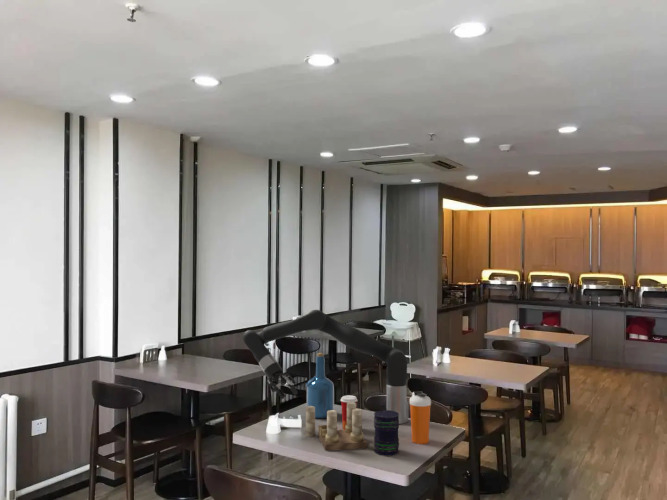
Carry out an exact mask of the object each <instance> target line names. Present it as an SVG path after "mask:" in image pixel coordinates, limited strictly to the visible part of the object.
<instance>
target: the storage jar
mask: <svg viewBox="0 0 667 500" xmlns="http://www.w3.org/2000/svg"><path fill="white" fill-rule="evenodd" d="M380 406H384V404H383V403H380ZM373 415H374V417H373V427H374V437H373V441H374V442H373V446H374V450H373V451H374V454H376V455H378V456H382V457H383V456H385V457H393V456H396V455H398V454H399V452H400V451H399V448H400V447H399V446H400V438H399V428H400V424H399V413H397V412H395V411H390V410H387V409H385V410H384V409H383V410H377V411H375V412H374V413H373Z"/></svg>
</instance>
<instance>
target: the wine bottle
mask: <svg viewBox="0 0 667 500" xmlns="http://www.w3.org/2000/svg"><path fill="white" fill-rule="evenodd" d="M315 359H316V360H315V365H316V366H315V375H314V376H313V377H312V378H310V379H308V381H307V382H306V384H305V386H306V407H307V406H314V407H315V419H327V411H329V410H335V386H334V385H335V384H334V382H333V381H332V380H330V379H329V378H327V376H326V372H325V368H326V367H325V363H326V361H325V360H326V359H325V356H324V353H322V352H318V353H317V355H316V357H315Z"/></svg>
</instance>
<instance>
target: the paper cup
mask: <svg viewBox="0 0 667 500" xmlns="http://www.w3.org/2000/svg"><path fill="white" fill-rule="evenodd" d="M339 401H340V402H341V403H340V404H341V417H342V420H341V421H342V430H345V426H346V425H347V403H349V402H354V403H356V409H358V408H357V407H358V406H357V405H358V401H359V400H358V399H357V396H355V395H343V396H342V397H340V400H339Z"/></svg>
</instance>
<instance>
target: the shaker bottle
mask: <svg viewBox="0 0 667 500" xmlns="http://www.w3.org/2000/svg"><path fill="white" fill-rule="evenodd" d="M427 395H428V394H427V393H423V391H412V395H411V396H410V398H409V402H408V405H409V407H410V409H409V411H410V428H411V429H410V431H411V432H410V433H411V442H412V443H414V444H418V445H425V444H426V445H427V444H428V443H429V442H430V424H431V423H430V422H431V420H430V419H431V405H432V399H431V398H430V397H429V396H427Z"/></svg>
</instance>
